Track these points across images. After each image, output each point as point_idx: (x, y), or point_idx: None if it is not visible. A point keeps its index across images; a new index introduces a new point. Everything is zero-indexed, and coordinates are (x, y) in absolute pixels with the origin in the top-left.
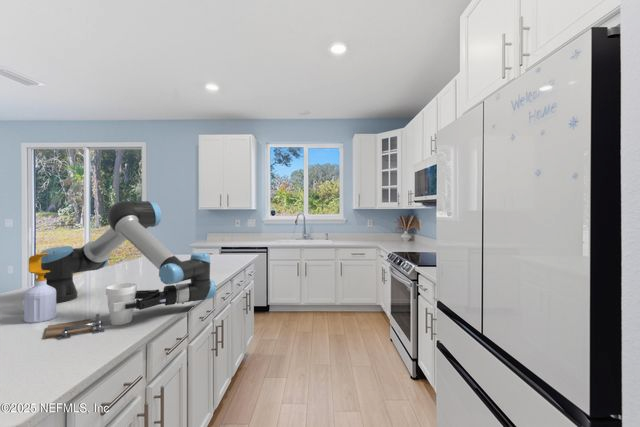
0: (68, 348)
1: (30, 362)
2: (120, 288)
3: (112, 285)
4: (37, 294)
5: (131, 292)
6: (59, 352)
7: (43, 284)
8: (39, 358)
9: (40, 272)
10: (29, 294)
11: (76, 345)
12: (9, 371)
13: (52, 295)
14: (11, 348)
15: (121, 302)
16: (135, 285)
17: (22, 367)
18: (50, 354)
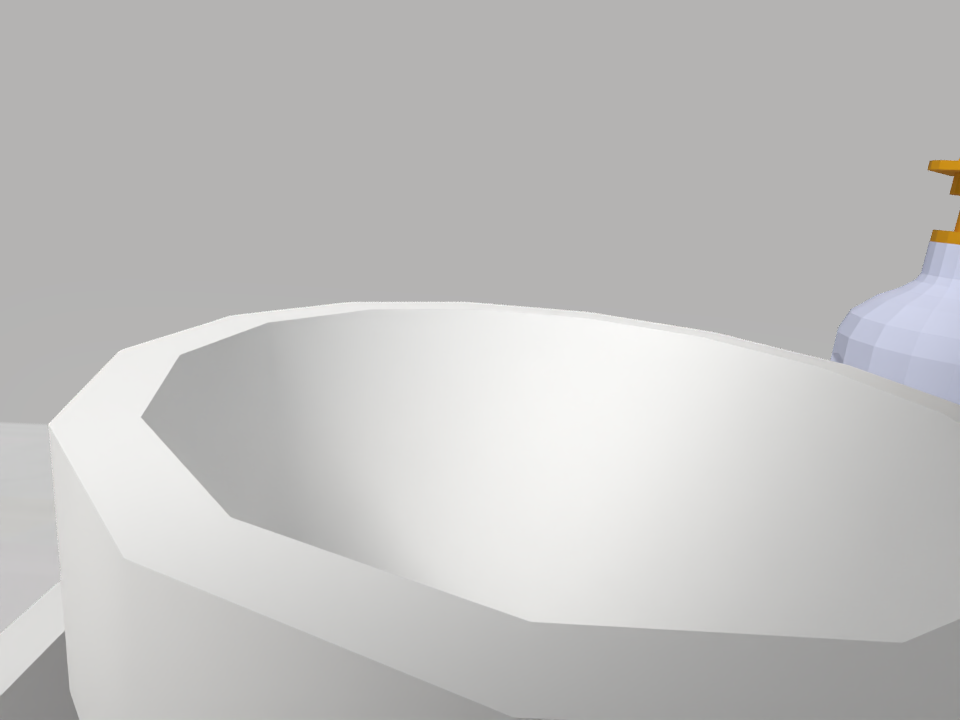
0: (27, 558)
1: (33, 461)
2: (908, 552)
3: (783, 355)
4: (850, 325)
5: (84, 678)
6: (15, 527)
7: (946, 274)
8: (44, 479)
9: (935, 161)
10: (846, 315)
11: (27, 590)
12: (18, 428)
13: (928, 378)
14: None
15: (46, 635)
16: (372, 624)
17: (4, 446)
18: (43, 504)
